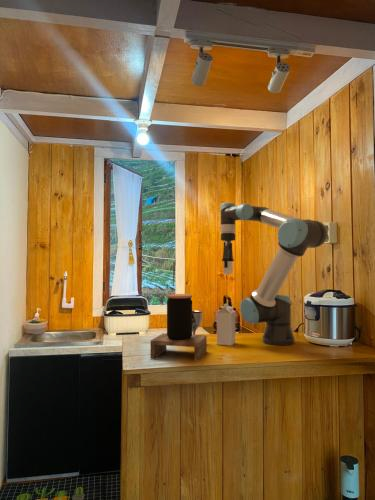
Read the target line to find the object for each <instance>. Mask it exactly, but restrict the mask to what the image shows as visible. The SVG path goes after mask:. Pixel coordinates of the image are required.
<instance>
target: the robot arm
mask: <svg viewBox="0 0 375 500" xmlns="http://www.w3.org/2000/svg"><path fill="white" fill-rule="evenodd" d="M219 212H220V227H219V229H220V232H221V233H220V241H223V251H222V259H221V262H223V264H222V265H223V267H222V268H223V275H230V274H234V273H233V271H234V269H233V268H234V267H233V265H234V263H233V262H235V259H234V255H233V253H234V252H233V242H232V241H236V221H250V222H251V221H252V222H259V223H261V224H265V225H267V226H270V227H273V228H276V229H278V231H277V240H278V242H277V245H278V247H279V248H278V249H277V252H276V254H275V256H274V257H273V259H272V261H271V263H270V264H269V267H268V269H267V270H266V272H265V274H264V276H263V278H262V280H261V282H260V284H259V285H258V288H256V289H253V290H252V292H251V294H250V296H249V297H245V298H243V299H242V301H241V302H240V306H239V309H240V314H241V316H242V318H243V320H244V321H245V322H246V323H248V324H260V323H266V324H265V328H264V331H263V335H262V343H263V344H268V345H274V346H290V345H293V344H295V339H296V338H295V335H294V333H293V330H292V326H291V325H292V321H291V319H292V318H291V314H292V313H291V312H292V311H291V307H292V306H291V305H292V303H291V297H290V296H289V295H286V294H284V295H283V294H278V293H279V292H280V290H281V289H282V286H283V285H284V283H285V281H286V279H287V278H288V276H289V274H290V272H291V270H292V269H293V266H294V265H295V263H296V261H297V259H298V258H301V257H304V255H305V253H306V251H307V250H308V248H309V249H312V248H319V247H321V246H322V245H324V244H325V243H326V241H327V240H328V235H329V232H328V228H327V227H326V224H324V223H322V222H321V221H319V220H313V219H308V218H307V219H302V218H297V217H294V216H292V215H289V214H285V213H281V212H279V211H276V210H273V209H270V208H269V207H266V206H255V205H251V204H249V203H241V204H237V205H236V204H235V203H233V202H223V203H221V204H220V211H219Z"/></svg>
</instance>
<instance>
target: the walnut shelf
mask: <svg viewBox="0 0 375 500" xmlns="http://www.w3.org/2000/svg"><path fill="white" fill-rule="evenodd" d="M207 338H208V336H207V335H205V334H195V335H193V334H192V336H191V338H190V339H187V340H172V339H169V338H168V336H167V332H165V333H161V334H159V335H158V336H156V337H153V338H152V339H150V355H149V356H150V359H154V358H156V357H158V356H159V355H161V354H162V353H163V352H165V351H166V350H167V346H172V347H190V348H191V347H192V348H194V349H193V350H194V356H193V357H194V361H195V362H199V361H201V359H202V358H203V357H204V355H205V354H206V353H207V349H208V348H207V347H208V345H207V343H208V342H207Z"/></svg>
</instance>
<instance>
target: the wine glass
mask: <svg viewBox="0 0 375 500" xmlns="http://www.w3.org/2000/svg"><path fill="white" fill-rule="evenodd" d="M202 321H203V311H200V310H192V335H196V331H197V330H198V329H199V327H200V325H201V324H202Z"/></svg>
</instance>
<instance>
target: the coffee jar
mask: <svg viewBox="0 0 375 500" xmlns="http://www.w3.org/2000/svg"><path fill="white" fill-rule="evenodd" d="M166 297H167V301H166V333H167V336H168V338H169V339H172V340H187V339H190V338H191V336H192V335H193V332H192V311H193V300H192V298H193V295H192V294H189V293H172V294H171V293H168V294H167V295H166Z"/></svg>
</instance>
